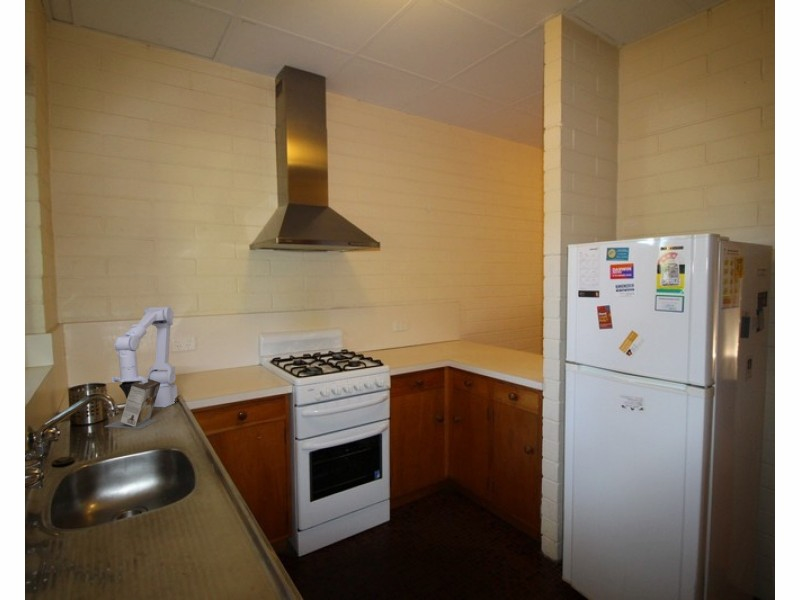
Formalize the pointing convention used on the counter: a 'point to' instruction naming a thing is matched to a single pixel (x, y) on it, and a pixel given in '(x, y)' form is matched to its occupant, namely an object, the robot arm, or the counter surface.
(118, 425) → the mat
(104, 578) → the counter surface
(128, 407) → the coffee box
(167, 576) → the counter surface
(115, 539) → the counter surface
